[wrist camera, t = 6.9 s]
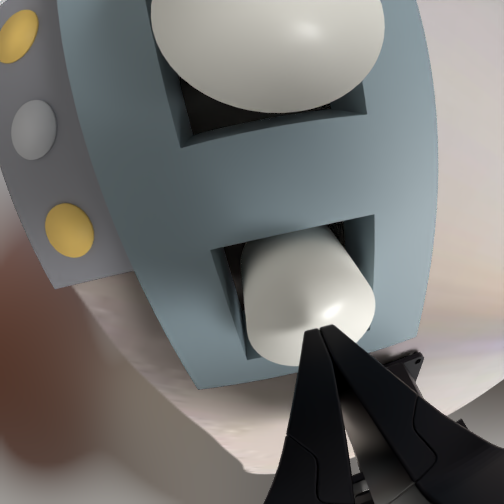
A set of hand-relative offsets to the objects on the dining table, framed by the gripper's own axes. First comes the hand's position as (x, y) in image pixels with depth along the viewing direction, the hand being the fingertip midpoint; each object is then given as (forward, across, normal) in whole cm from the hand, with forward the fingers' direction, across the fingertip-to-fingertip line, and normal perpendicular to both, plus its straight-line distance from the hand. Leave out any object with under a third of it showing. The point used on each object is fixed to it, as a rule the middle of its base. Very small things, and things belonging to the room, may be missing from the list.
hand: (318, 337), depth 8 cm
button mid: (+3, 0, -8) cm, 8 cm away
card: (+5, +8, -8) cm, 13 cm away
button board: (+5, 0, -8) cm, 9 cm away
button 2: (+4, 0, 0) cm, 4 cm away
